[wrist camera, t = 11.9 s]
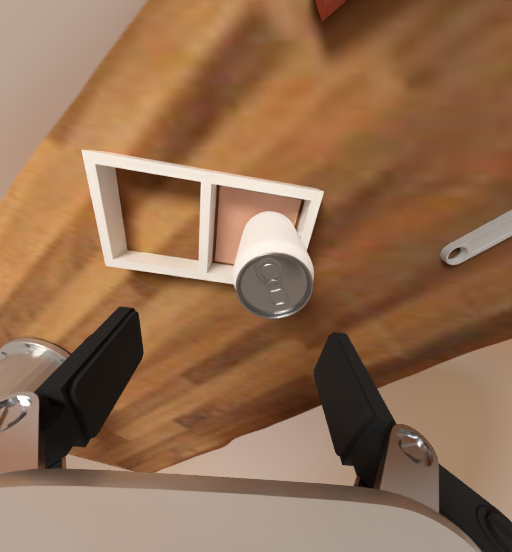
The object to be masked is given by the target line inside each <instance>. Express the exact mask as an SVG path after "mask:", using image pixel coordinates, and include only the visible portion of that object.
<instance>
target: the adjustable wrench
mask: <svg viewBox="0 0 512 552" xmlns="http://www.w3.org/2000/svg"><path fill="white" fill-rule="evenodd" d="M511 236H512V210H510V211H509V212H507V213H505V214H503V215H501V216H499V217H498V218H496V219H494V220H492V221H490V222H489V223H487V224H485V225H483V226H481V227H479V228H478V229H476V230H474V231H472V232H470V233H468V234H467V235H465V236H463V237H461V238H459V239H458V240H456V241H454V242H452V243H450V244H448V245H447V246H446V247H444V248H443V250H442V251H441V253H440V258H441V259H442V260H443V261H444V262H446V263H448V264H450V265H457V264H460V263H462V262H464V261H466V260H467V259H469V258H471V257H473V256H475V255H477V254H479V253H481V252H482V251H484V250H486V249H488V248H490V247H492V246H494V245H496V244H497V243H499V242H501V241H503V240H505V239H507V238H509V237H511ZM458 247H459V248H460V251H459V253H458V255H457V256H455V257H454V258H452V259H448V256H449V254H450V253H451V252H452V251H453V250H454V249H456V248H458Z"/></svg>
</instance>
